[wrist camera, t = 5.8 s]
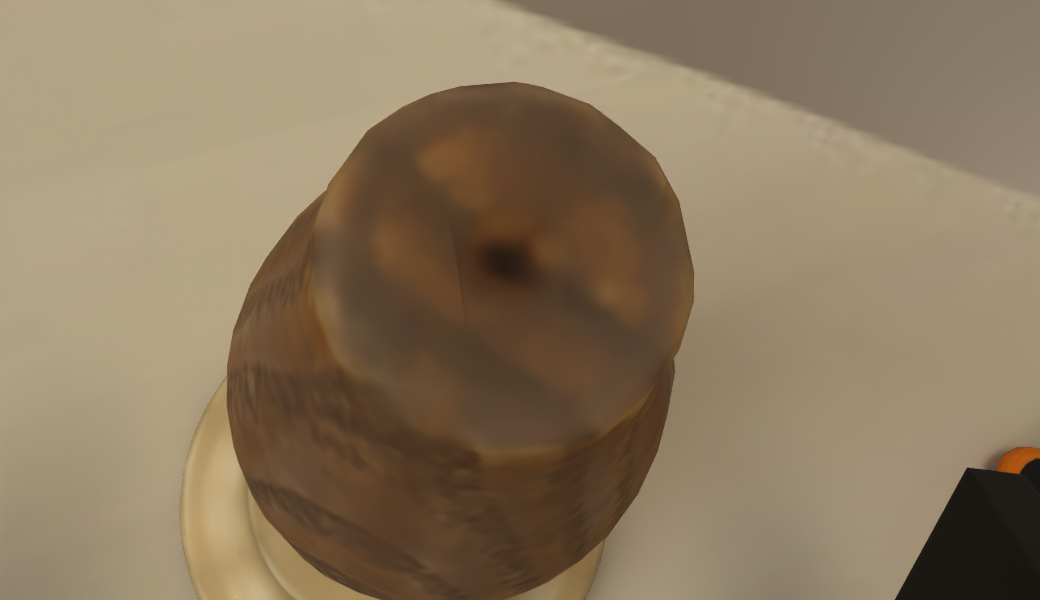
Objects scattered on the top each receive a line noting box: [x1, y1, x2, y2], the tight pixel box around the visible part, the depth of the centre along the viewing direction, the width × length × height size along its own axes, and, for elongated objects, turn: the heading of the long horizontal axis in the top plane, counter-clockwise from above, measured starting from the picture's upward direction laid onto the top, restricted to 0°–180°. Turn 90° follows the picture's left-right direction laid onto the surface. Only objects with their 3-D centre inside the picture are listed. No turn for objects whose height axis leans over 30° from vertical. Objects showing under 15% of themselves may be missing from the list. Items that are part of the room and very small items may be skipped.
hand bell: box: [180, 82, 694, 600], centre depth 11 cm, size 8×8×16 cm
